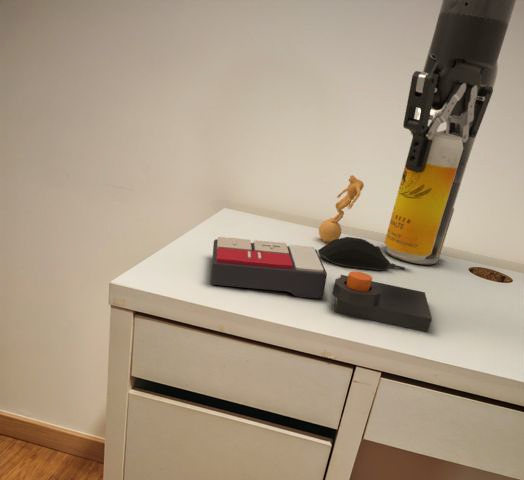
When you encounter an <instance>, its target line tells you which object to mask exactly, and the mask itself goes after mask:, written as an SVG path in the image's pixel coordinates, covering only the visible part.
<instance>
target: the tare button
mask: <svg viewBox="0 0 524 480" xmlns="http://www.w3.org/2000/svg"><path fill="white" fill-rule="evenodd" d="M347 276H348V279H347V283H346V286H347V287H349V288H352V289H354V290H359V291H369V289H370V285H371V282H372V281H373V276H372V275H370V274H368V273H365V272H362V271H356V270H354V271H349V273H348V275H347Z"/></svg>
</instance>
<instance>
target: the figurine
mask: <svg viewBox="0 0 524 480" xmlns="http://www.w3.org/2000/svg"><path fill="white" fill-rule="evenodd" d="M348 182H349V184H348V185H347V187H346V188H344V189H343V190H342V191H341V192H340V193H339V194H338V195H337V198H340V197H342V195H343V194H345V193H346V195H345V196H344V197H343V198H341V199H340V200H339V201H337V202H336V203H335V206H334V207H335V209H336V211H337V214H336V215H335V216H334V217H331V218H329V219H325V220H324V221H322V223H321V224H320V225H319V227H318V235H319V238H320V239H321V240H322V241H323V242H325V243H330V242H331V241H333V240H335V239H340V238H341V235H342V227H341V224H340V223H339V222H340V221H341V220H342V219H343V218H344V215H345V211H343V210H344V209H345V208H347V209H349V210H351V209H352V208H353V206H354V204H355V203H356V201H357V200H358V199H359V197H360V196H361V192H362V190H363V189H364V185H365V184H364V182H363V181H362V180H361V179H358V178H356V177H355V175H354V174H352V175H350V176H349V178H348Z"/></svg>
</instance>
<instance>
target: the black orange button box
mask: <svg viewBox="0 0 524 480" xmlns="http://www.w3.org/2000/svg"><path fill="white" fill-rule="evenodd" d="M347 279H348V275H344V274H340V277H338V278H335V280H334V284H333V288H332V289H333V290H332V296H334V297H335V298H336V299H335V306H334V313H339V314H343V315H347V316H352V317H356V318H361V319H365V320H370V321H375V322H380V323H383V324H389V325H393V326H397V327H398V326H399V327H403V328H407V329H412V330H416V331H421V332H425V333H428V332H429V330H430V326H431V323H432V322H433V321H432V320H433V317H432V313H431V310H430V307H429V302H428V299H427V294H426V292H425V291H420V290H416V289H412V288H408V287H407V288H406V287H402V286H397V285H393V284H387V283H382V282H378V281H373V280H372V282H371V285H370V289H369V291H359V290H354V289H352V288H349V287H347V286H346V283H347Z"/></svg>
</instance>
